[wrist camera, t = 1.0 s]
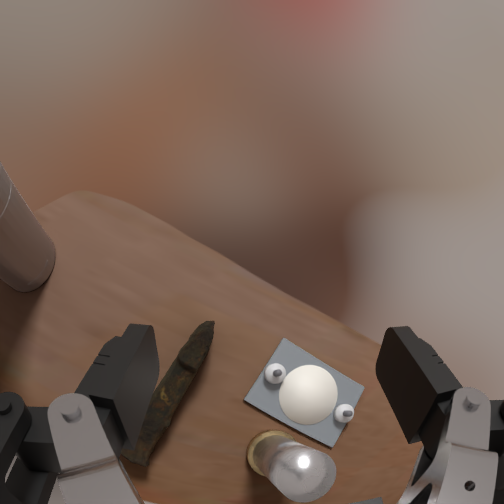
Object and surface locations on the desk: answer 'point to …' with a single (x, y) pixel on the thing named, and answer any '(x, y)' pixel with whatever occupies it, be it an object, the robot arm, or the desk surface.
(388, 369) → the robot arm
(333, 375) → the board
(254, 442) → the clear glass cylinder
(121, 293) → the desk surface
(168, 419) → the hand tool
